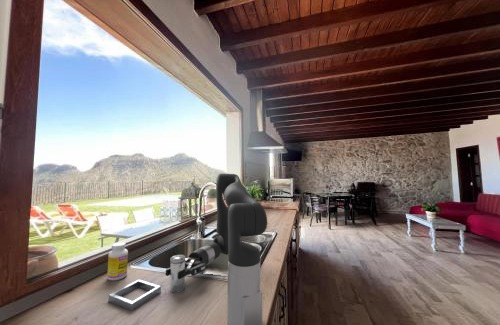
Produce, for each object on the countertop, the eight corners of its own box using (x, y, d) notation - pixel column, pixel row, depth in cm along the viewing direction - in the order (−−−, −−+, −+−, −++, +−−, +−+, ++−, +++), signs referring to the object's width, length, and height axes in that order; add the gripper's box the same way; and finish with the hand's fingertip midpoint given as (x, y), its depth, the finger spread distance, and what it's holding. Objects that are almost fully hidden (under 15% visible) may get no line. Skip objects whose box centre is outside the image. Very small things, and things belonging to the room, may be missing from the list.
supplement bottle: (117, 282, 80) (119, 247, 81) (102, 280, 81) (104, 246, 82) (130, 273, 86) (132, 242, 87) (117, 272, 88) (118, 240, 88)
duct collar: (160, 292, 74) (160, 286, 74) (131, 310, 64) (131, 303, 64) (138, 284, 78) (138, 279, 78) (108, 301, 68) (108, 294, 68)
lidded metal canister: (186, 289, 75) (187, 258, 76) (171, 294, 72) (172, 261, 73) (182, 283, 80) (182, 253, 80) (167, 287, 77) (168, 256, 77)
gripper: (188, 245, 92) (157, 260, 77) (216, 250, 87) (188, 267, 71) (188, 263, 92) (156, 281, 77) (216, 269, 86) (188, 290, 71)
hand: (172, 274), depth 74 cm, fingers closed on lidded metal canister, 5 cm apart
